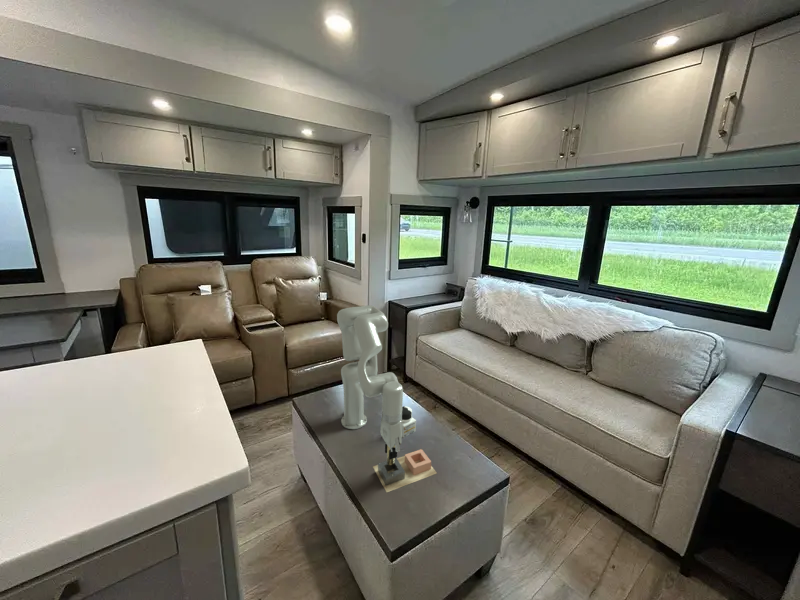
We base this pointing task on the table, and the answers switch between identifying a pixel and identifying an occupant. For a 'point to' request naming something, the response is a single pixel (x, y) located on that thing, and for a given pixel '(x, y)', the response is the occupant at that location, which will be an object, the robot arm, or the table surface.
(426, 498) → the table surface
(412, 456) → the socket collar
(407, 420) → the container
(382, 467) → the mount collar
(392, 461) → the brass pin
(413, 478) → the oak board
